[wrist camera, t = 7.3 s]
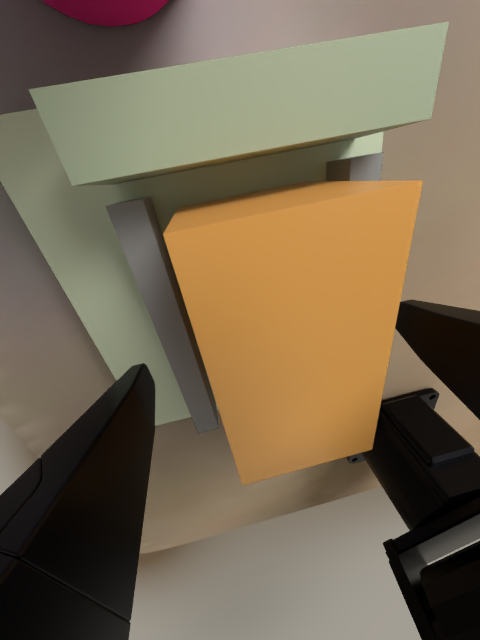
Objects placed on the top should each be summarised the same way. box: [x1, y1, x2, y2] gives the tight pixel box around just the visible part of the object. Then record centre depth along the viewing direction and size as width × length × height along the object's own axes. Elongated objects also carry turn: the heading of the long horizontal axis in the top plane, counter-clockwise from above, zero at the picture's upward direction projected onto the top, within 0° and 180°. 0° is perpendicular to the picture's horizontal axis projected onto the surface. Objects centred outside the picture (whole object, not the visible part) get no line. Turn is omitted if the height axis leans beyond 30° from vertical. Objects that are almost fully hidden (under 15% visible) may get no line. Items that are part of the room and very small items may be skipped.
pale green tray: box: [0, 22, 449, 434], centre depth 9 cm, size 13×12×4 cm
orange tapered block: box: [163, 180, 423, 485], centre depth 9 cm, size 9×4×5 cm, turn 10°
